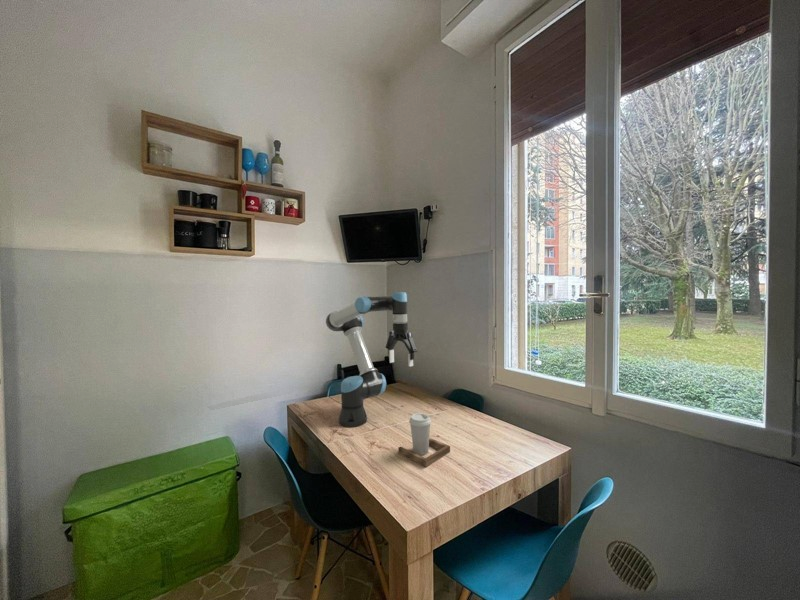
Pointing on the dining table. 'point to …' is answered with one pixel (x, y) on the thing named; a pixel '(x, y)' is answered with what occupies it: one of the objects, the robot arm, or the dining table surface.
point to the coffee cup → (420, 432)
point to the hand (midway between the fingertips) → (401, 364)
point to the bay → (430, 459)
